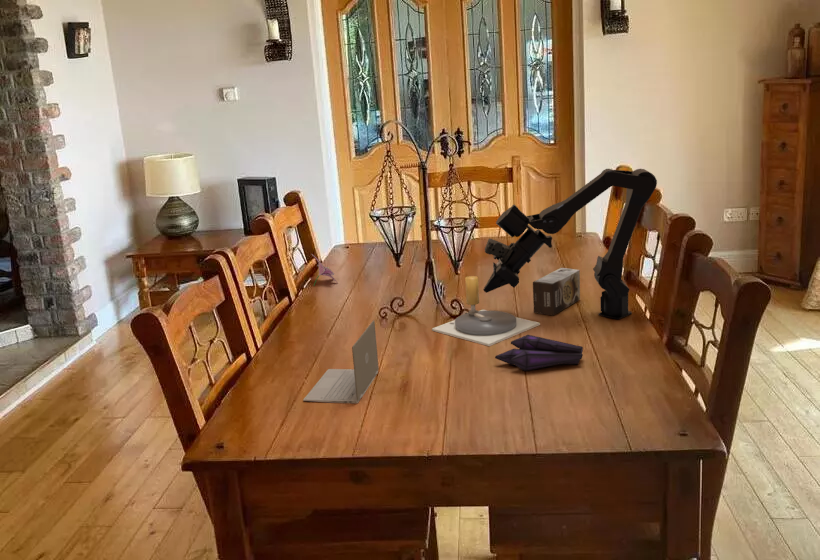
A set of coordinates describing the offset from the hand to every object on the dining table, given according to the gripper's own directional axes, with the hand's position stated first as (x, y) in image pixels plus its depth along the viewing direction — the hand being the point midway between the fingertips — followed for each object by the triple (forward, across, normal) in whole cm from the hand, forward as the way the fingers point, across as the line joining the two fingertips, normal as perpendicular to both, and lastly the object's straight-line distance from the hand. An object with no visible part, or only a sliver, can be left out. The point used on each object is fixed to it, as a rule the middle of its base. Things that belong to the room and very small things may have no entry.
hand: (484, 291), depth 220 cm
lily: (+42, -47, -30) cm, 70 cm away
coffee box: (-15, -17, +20) cm, 30 cm away
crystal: (-2, +33, +14) cm, 36 cm away
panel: (+6, +5, +6) cm, 10 cm away
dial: (+6, +5, +6) cm, 10 cm away
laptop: (+30, +41, -18) cm, 54 cm away
